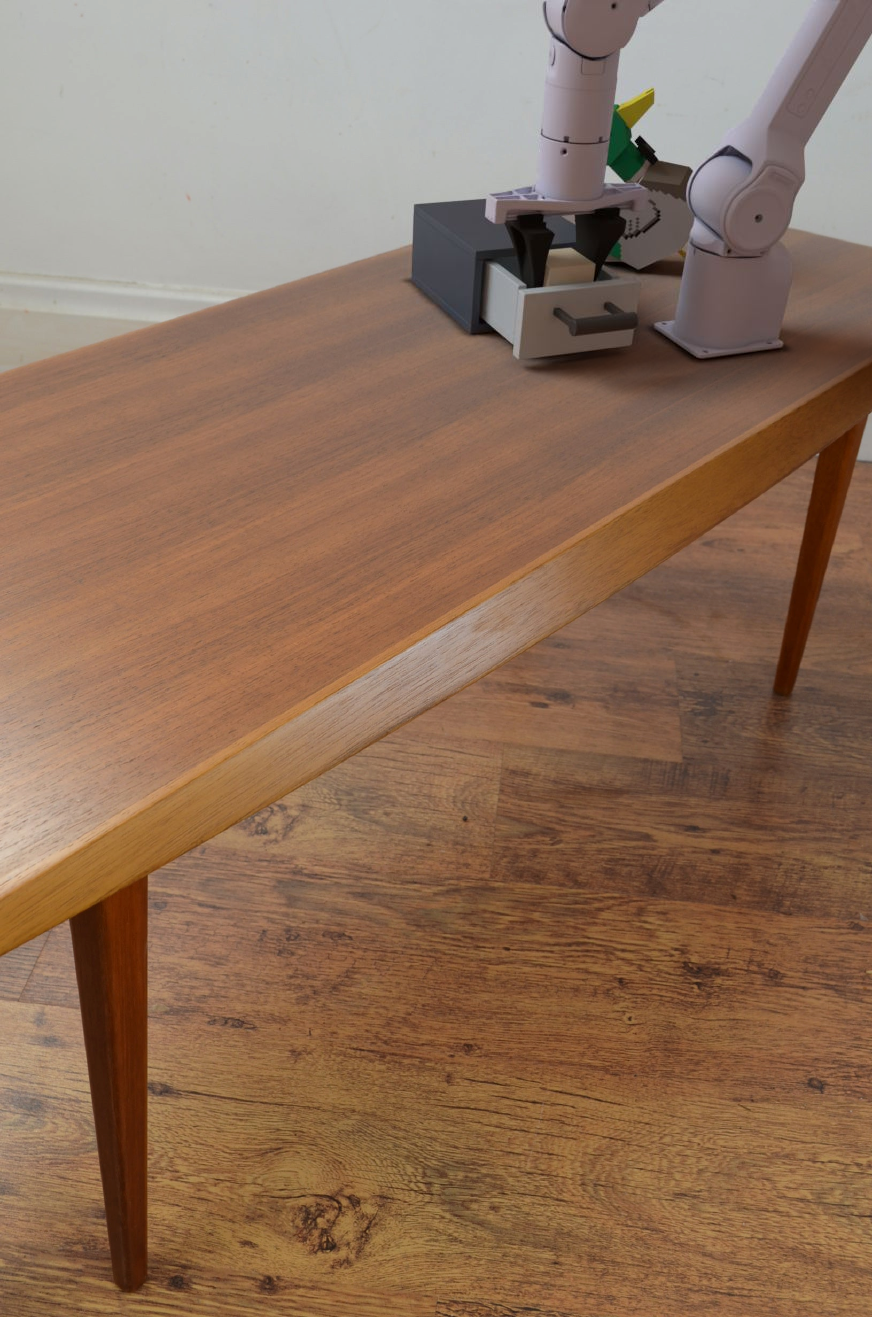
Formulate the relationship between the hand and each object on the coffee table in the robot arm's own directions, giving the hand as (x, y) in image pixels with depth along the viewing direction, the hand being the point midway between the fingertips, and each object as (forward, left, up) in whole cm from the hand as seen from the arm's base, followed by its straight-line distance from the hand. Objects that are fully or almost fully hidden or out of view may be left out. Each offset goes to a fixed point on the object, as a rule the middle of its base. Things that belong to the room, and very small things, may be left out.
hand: (556, 298), depth 103 cm
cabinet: (0, -11, -4) cm, 12 cm away
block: (0, 0, -1) cm, 1 cm away
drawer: (0, 0, -3) cm, 3 cm away
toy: (-20, -16, -4) cm, 26 cm away
